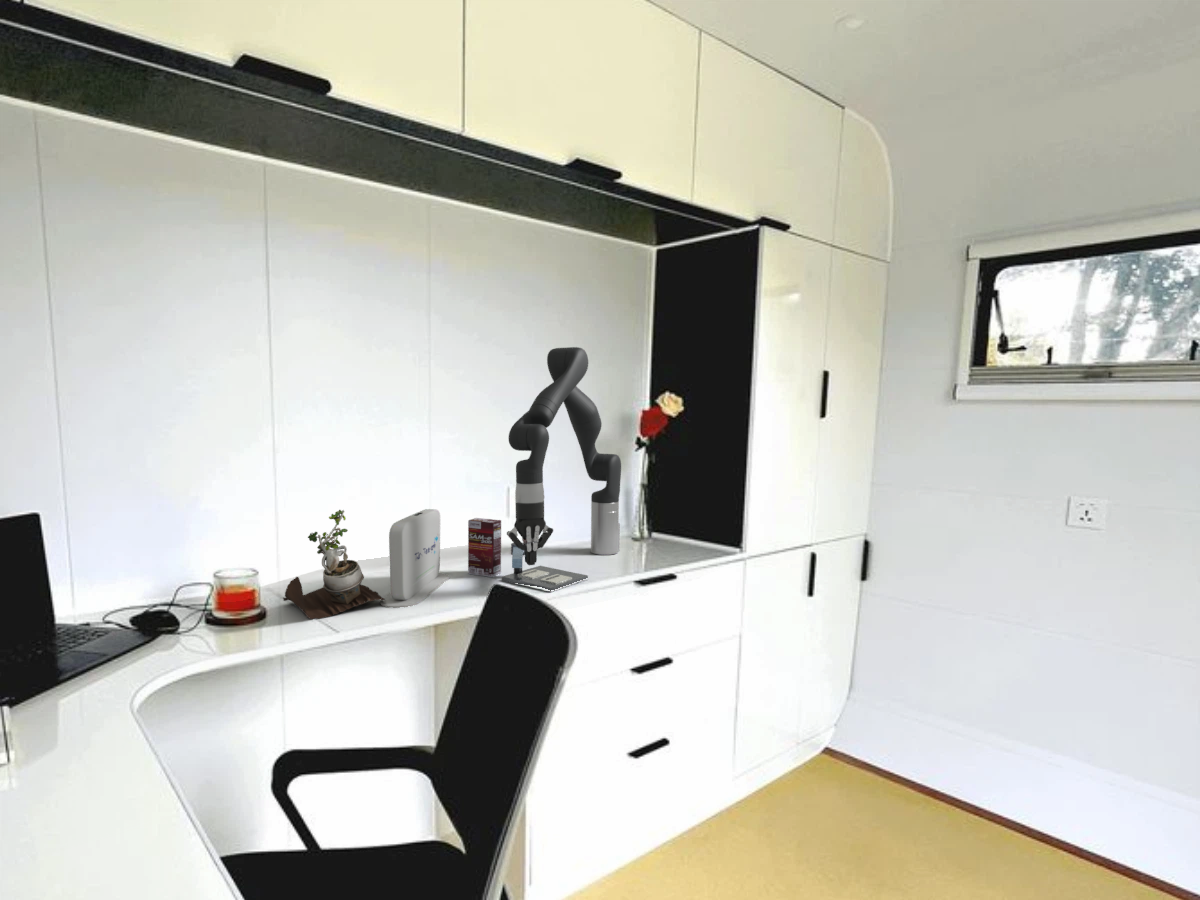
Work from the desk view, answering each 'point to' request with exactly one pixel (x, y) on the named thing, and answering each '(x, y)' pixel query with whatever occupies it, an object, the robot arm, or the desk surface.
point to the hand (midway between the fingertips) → (530, 564)
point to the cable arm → (516, 556)
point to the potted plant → (332, 580)
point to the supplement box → (484, 547)
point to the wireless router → (414, 559)
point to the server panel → (543, 577)
